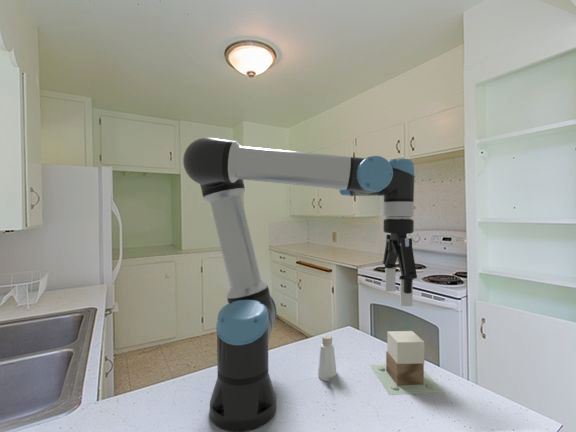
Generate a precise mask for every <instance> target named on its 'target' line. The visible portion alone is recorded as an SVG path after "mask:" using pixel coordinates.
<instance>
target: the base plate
mask: <svg viewBox="0 0 576 432" xmlns="http://www.w3.org/2000/svg"><path fill="white" fill-rule="evenodd" d="M369 366H370V368H371V369H372V371H373V372H374V374H375V375H376V377H377V378H378V380H379V382H380V383H381V385H382V386H383V388H384V389H385V391H386V392H387V394H388V395H389V396H390V395H391V396H392V395H395V396H397V395H409V394H410V395H413V394H414V395H415V394H433V393H436V394H437V393H445V391H444V390H443V388H441V386H439V384H437V382H436V381H435V380H434V379H433V378H432V376H430V375H429V374H428V373H427V372H426V371H425V370H424V384H422V385H399V386H397V385H396V383H395V382H394V381H393V379H392V378H391V377H390V375H389V374H388V373H387V371H386V363H385V364H369Z"/></svg>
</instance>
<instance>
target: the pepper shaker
mask: <svg viewBox="0 0 576 432" xmlns="http://www.w3.org/2000/svg"><path fill="white" fill-rule="evenodd" d="M321 339H322V340H321V341H322V343H321V344H320V349H319V359H318V368H317V369H318V370H317V376H318V379H320V380H322V381H324V382H331V378H334V377H335V376H337V365H336V354H335V346H334V344H333V337H332V335H330V334H323V335H322V336H321Z"/></svg>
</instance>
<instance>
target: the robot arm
mask: <svg viewBox="0 0 576 432" xmlns="http://www.w3.org/2000/svg"><path fill="white" fill-rule="evenodd" d="M182 159H183V164H182V165H183V168H184V170H185V173H186V174H187V176H188V177H189V178H190V179H191V180H192V181H193V182H194V183H196V184H198V185H200V186H199V187H200V190H201V193H202V198H203V200H205V201H207V202H208V203H209V204H210V207H211V212H212V214H213V215H212V216H213V220H214V223H215V228H216V232H217V236H218V242H219V245H220V249H221V254H222V257H223V262H224V265H225V270H226V274H227V279H228V282H229V287H230V289H229V290H228V292H227V294H226V298H227V302H228V303H227V304H225V305H224V306H223V307H222V308H221V309H220V310H219V312H218V314H217V319H216V324H215V325H216V328H215V331H216V339H217V340H216V341H217V343H216V348H217V349H216V351H217V353H216V354H217V357H216V359H217V363H216V364H217V378H216V380H215V384H214V388H213V391H212V394H211V397H210V401H209V417H210V419H211V421H212V422H213V424H214V425H215V426H217V427H218V428H220V429H222V430H225V431H230V432H245V431H250V430H253V429H254V430H255V429H257V428H259V427H261V426H264V425H265V424H267V422H269V421H270V420H271V419H272V417H273V416H275V415H274V414H275V413H276V410H277V395H276V391H275V389H274V385H273V382H272V380H271V377H270V373H269V343H270V342H269V341H270V336H271V333H272V331H273V327H274V324H275V322H276V320H277V319H276V318H277V306H276V302H275V300H274V298H273V297H272V295H271V293H270V288H269V285H268V283H267V282H265V281H263V280H262V278H261V275H260V271H259V267H258V266H259V265H258V263H257V257H256V253H255V249H254V246H253V241H252V237H251V233H250V229H249V224H248V220H247V214H246V211H245V206H244V203H243V199H242V196H243V195H244V193H245V192H246V191H245V190H246V189H245V184H244V181H252V182H253V181H254V182H255V181H256V182H262V183H263V182H264V183H275V184H283V185H291V186H292V185H294V186H304V187H305V186H306V187H312V188H313V187H315V188H323V189H333V190H335V189H336V190H338V191H339V194H340V195H341V196H347V197H348V196H350V197H358V196H359V197H361V196H363V197H364V196H365V197H367V196H368V197H369V196H371V197H372V196H373V197H374V196H379V197H382V196H383V215H382V216H383V217H384V219H383V232H384V233H387V234H386V235H385V236H386V240H385V250H384V253H383V261H382V263H383V265H384V269H385V270H384V273H385V274H384V279H385V280H384V282H385V283H384V290H385V292H396V276H397V275H396V269H397V264H396V262H397V261H398V265H399V271H400V274H401V275H399V277H398V278H399V283H400V285H399V287H400V290H399V305H400V306H401V307H413V299H414V298H413V292H414V291H413V286H414V283H413V282H414V281H413V280H417V279H418V275H417V269H416V263H415V255H414V250H413V238H410V237H409V238H408V236H407V235H408V234H413V233H414V230H415V228H414V224H415V221H414V219H412V218H413V217H414V213H415V212H414V211H415V209H416V205H414V204H415V202H414V201H415V200H414V199H415V179H416V176H415V165H414V162H413V160H412V159H409V158H393V159H392V158H391V159H386V158H385V157H383V156H380V155H371V156H367V157H355V156H354V157H353V156H345V155H336V154H335V155H334V154H325V153H316V152H315V153H313V152H305V151H293V150H284V149H276V148H275V149H274V148H266V147H265V148H263V147H253V146H245V145H243V146H242V145H241V144H240V143H239V142H238V141H237V140H229V139H223V138H221V139H220V138H215V137H201V138H198V139H195V140H193V141H192V142H191V143H190V144H189V145H188V146H187V147H186V149H185V150H184V153H183V158H182Z"/></svg>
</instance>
